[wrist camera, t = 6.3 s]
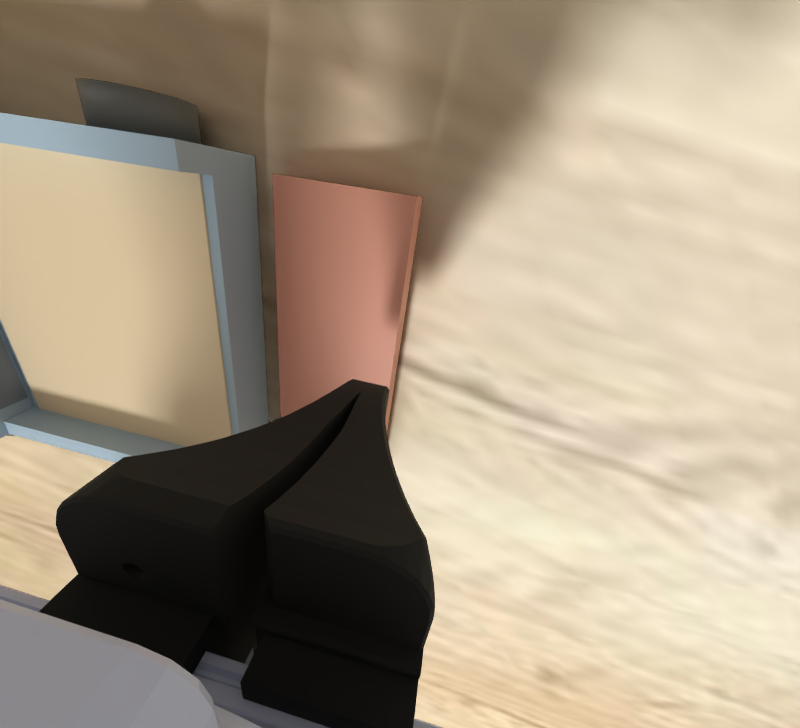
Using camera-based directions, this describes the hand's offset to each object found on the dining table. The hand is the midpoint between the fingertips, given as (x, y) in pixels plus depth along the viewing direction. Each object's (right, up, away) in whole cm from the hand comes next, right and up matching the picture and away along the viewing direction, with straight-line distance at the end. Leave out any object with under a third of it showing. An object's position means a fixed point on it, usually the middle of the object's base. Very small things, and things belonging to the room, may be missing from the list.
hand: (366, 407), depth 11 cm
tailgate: (-4, +3, +4) cm, 7 cm away
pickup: (-14, +5, +5) cm, 15 cm away
